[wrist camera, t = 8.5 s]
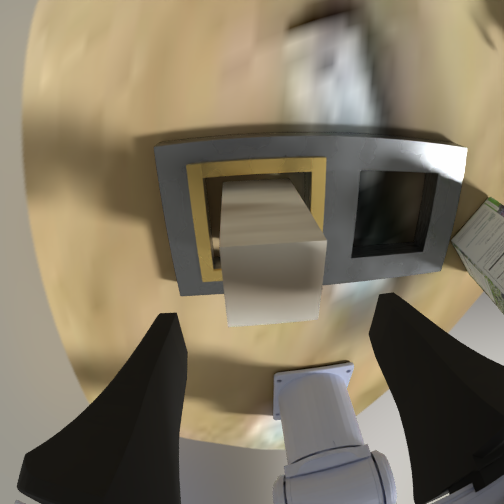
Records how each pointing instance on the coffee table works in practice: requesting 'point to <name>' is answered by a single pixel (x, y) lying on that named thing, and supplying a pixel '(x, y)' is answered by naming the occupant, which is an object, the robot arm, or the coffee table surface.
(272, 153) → the rail
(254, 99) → the coffee table surface
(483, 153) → the coffee table surface
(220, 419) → the coffee table surface
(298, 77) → the coffee table surface
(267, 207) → the peg
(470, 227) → the syrup box
